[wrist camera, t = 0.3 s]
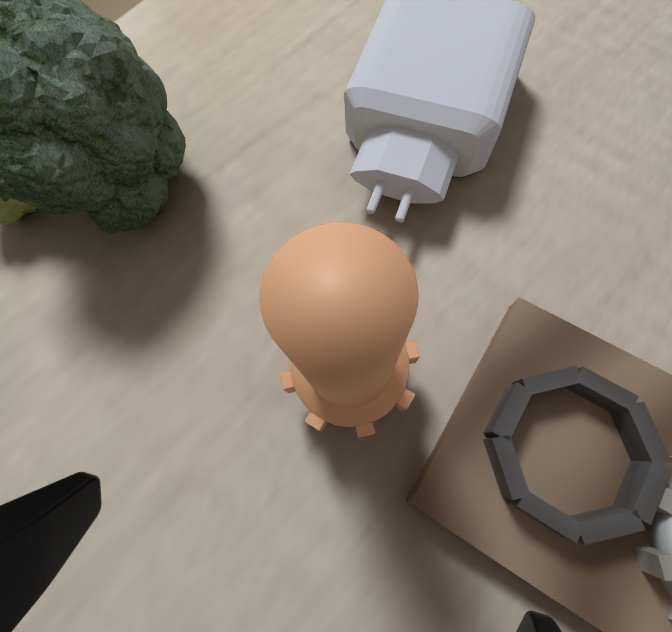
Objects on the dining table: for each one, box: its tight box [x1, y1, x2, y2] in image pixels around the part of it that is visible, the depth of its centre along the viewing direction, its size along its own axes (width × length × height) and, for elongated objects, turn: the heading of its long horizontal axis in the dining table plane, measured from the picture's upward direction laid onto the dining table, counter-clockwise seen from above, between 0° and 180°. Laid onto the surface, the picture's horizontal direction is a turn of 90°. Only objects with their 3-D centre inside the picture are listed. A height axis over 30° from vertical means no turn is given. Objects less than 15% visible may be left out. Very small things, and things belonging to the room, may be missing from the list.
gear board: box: [407, 297, 672, 632], centre depth 18 cm, size 18×12×5 cm, turn 58°
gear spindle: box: [260, 222, 420, 438], centre depth 17 cm, size 7×7×13 cm
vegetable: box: [0, 0, 186, 234], centre depth 23 cm, size 12×13×15 cm
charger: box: [344, 0, 535, 222], centre depth 25 cm, size 5×9×15 cm
